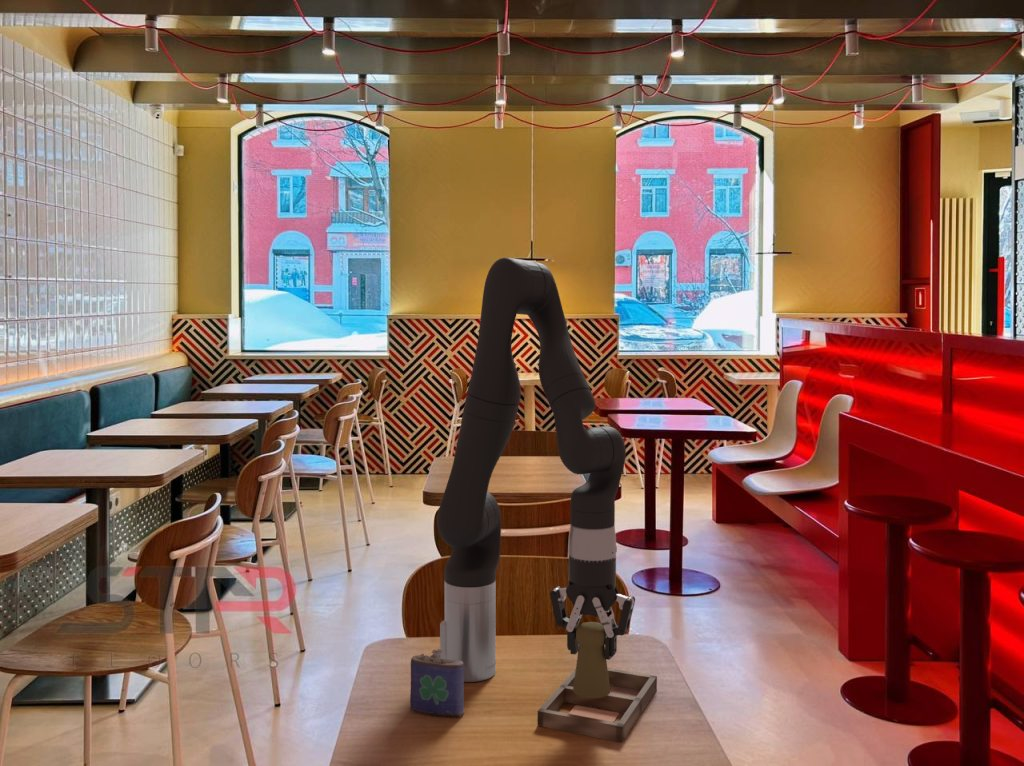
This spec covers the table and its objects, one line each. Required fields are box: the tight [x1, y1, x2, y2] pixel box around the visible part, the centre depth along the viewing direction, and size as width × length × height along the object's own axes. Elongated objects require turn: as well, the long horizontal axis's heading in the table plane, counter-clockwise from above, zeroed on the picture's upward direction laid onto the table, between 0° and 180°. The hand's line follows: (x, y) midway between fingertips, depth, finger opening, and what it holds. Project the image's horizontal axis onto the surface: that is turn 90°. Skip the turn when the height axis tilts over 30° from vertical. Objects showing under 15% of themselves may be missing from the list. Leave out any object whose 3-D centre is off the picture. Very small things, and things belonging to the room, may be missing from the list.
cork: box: [573, 621, 611, 698], centre depth 155 cm, size 6×6×11 cm
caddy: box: [537, 667, 658, 743], centre depth 160 cm, size 14×21×2 cm, turn 157°
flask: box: [409, 648, 465, 719], centre depth 157 cm, size 9×3×11 cm, turn 74°
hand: (591, 654), depth 154 cm, fingers closed on cork, 5 cm apart
